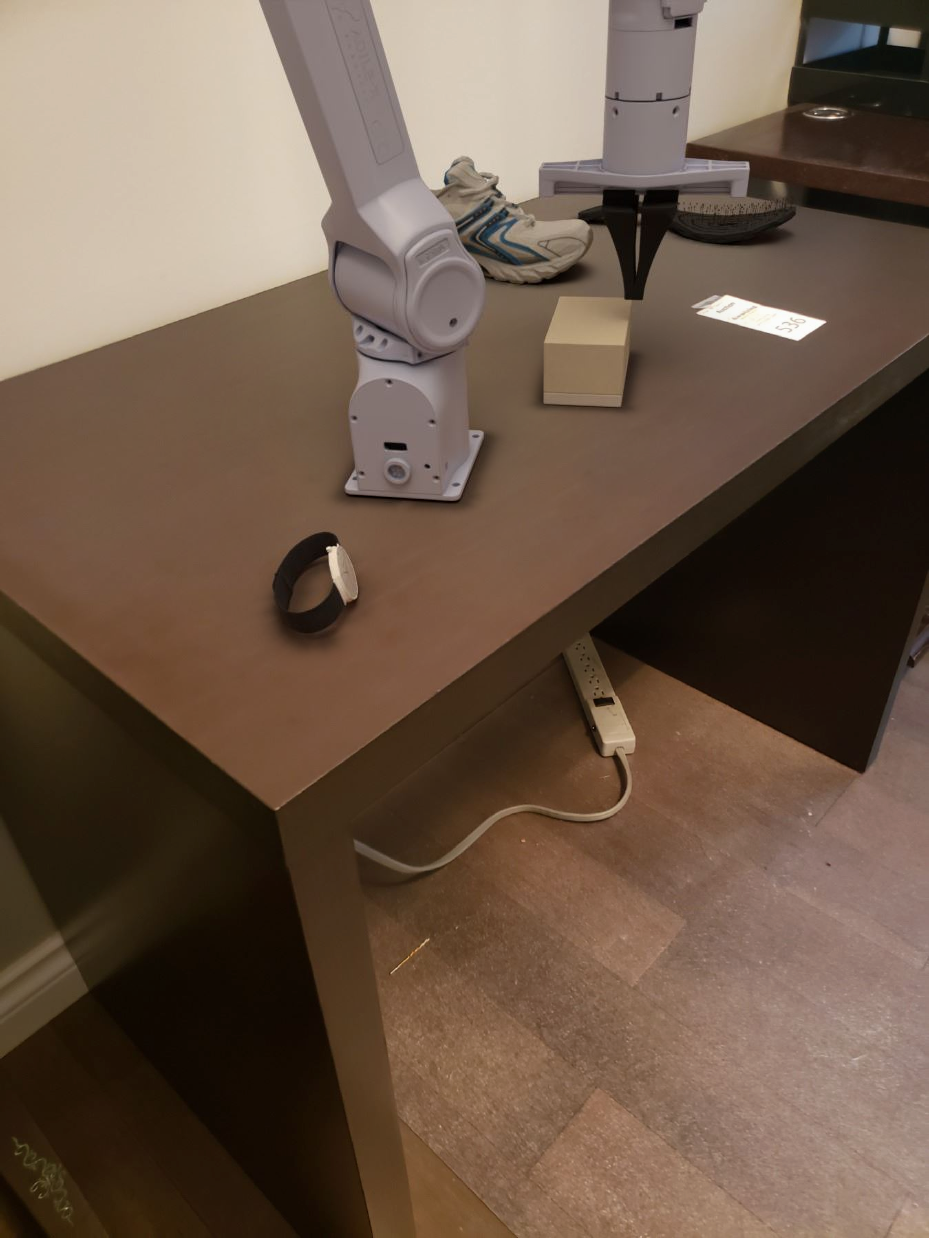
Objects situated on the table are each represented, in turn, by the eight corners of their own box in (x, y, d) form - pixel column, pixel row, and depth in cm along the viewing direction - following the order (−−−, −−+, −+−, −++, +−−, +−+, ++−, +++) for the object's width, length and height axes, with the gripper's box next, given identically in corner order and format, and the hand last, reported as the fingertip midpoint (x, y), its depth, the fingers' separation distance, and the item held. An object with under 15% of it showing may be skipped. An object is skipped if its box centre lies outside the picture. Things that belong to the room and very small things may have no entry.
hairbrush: (591, 185, 113) (805, 190, 103) (592, 217, 115) (801, 225, 105) (565, 203, 108) (787, 210, 97) (565, 237, 110) (783, 247, 99)
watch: (355, 639, 51) (347, 586, 49) (269, 645, 51) (257, 592, 49) (360, 560, 57) (353, 509, 55) (283, 565, 57) (273, 514, 55)
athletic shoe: (588, 285, 93) (594, 151, 88) (367, 283, 97) (360, 156, 92) (597, 277, 102) (602, 154, 97) (394, 276, 106) (389, 159, 101)
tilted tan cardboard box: (624, 345, 69) (543, 342, 70) (620, 407, 72) (543, 404, 73) (632, 297, 76) (559, 296, 78) (628, 356, 80) (558, 353, 81)
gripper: (756, 82, 65) (731, 280, 73) (548, 86, 67) (546, 276, 76) (761, 101, 59) (733, 312, 68) (534, 105, 62) (534, 307, 70)
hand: (634, 295), depth 71 cm, fingers closed
